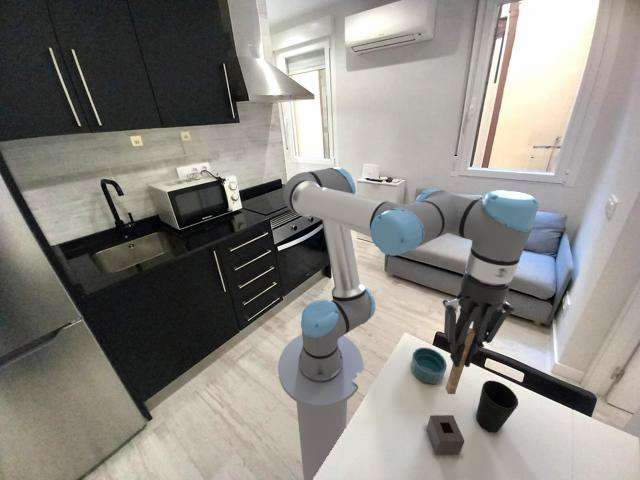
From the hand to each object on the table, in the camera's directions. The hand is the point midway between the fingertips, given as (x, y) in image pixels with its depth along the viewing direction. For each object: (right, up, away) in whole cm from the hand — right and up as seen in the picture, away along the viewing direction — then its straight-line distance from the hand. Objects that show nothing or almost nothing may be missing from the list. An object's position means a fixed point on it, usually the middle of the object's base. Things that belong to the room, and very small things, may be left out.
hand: (459, 361), depth 58 cm
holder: (0, -25, +8) cm, 26 cm away
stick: (0, -9, +5) cm, 10 cm away
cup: (+15, -23, +12) cm, 30 cm away
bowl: (+4, -16, +27) cm, 31 cm away
